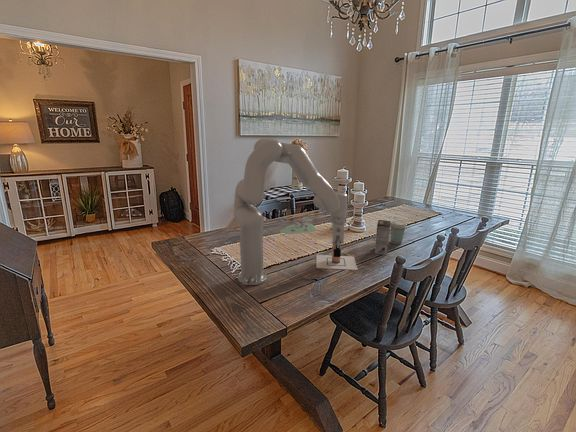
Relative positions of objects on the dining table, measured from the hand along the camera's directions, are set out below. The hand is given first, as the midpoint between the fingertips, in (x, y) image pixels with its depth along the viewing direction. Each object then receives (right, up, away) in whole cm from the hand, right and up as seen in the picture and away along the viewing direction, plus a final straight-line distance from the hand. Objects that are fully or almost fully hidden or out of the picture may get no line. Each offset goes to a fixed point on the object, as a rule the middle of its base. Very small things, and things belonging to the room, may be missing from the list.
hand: (336, 252), depth 147 cm
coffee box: (+27, -1, +15) cm, 31 cm away
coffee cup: (+39, +2, +28) cm, 48 cm away
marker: (0, -5, +1) cm, 5 cm away
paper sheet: (0, -5, +1) cm, 5 cm away
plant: (-17, +8, +51) cm, 54 cm away
